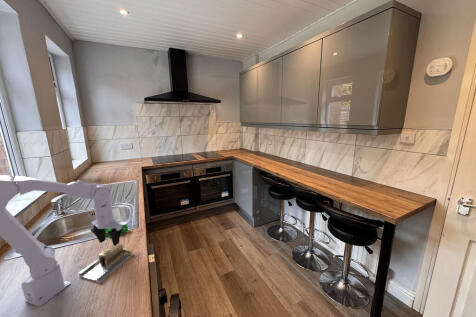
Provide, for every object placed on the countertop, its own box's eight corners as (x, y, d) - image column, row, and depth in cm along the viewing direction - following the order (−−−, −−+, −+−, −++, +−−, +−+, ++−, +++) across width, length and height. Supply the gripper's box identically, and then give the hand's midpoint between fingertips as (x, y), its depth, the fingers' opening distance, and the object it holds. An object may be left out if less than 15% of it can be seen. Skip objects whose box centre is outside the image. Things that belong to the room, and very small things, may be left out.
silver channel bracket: (99, 283, 72) (98, 277, 71) (78, 277, 75) (77, 271, 75) (133, 254, 87) (132, 249, 86) (114, 250, 90) (113, 245, 90)
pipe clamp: (102, 240, 99) (100, 232, 98) (104, 236, 102) (103, 228, 101) (127, 234, 103) (125, 227, 102) (128, 231, 106) (126, 223, 105)
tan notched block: (117, 252, 87) (115, 242, 86) (124, 253, 86) (122, 243, 85) (100, 265, 80) (98, 254, 79) (107, 266, 79) (105, 256, 78)
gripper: (126, 210, 80) (130, 239, 83) (100, 207, 84) (105, 234, 87) (110, 219, 74) (116, 250, 76) (83, 215, 78) (89, 244, 81)
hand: (109, 242), depth 81 cm, fingers open, 7 cm apart
